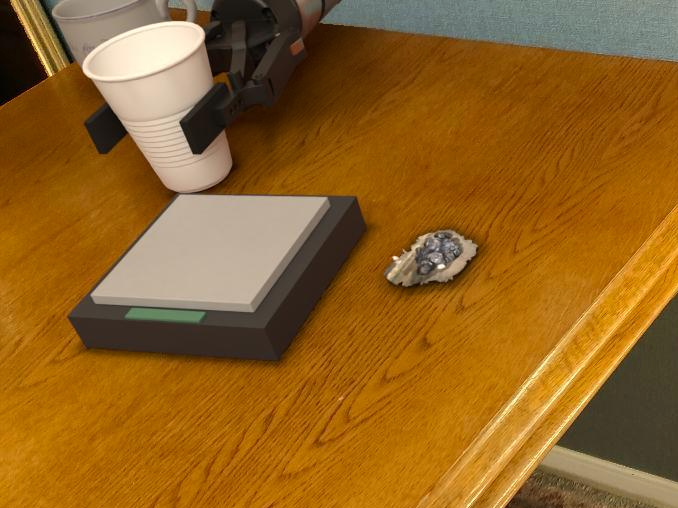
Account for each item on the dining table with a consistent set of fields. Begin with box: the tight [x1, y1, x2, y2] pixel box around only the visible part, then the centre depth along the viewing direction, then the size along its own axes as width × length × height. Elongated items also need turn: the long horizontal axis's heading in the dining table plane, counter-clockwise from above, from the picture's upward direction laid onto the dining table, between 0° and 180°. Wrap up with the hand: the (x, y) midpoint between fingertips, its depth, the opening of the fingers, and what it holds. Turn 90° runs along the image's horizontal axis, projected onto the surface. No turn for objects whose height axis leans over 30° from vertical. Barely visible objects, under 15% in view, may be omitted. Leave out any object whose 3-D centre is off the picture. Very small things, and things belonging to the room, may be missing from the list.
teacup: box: [51, 0, 199, 71], centre depth 101 cm, size 14×11×8 cm
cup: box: [81, 20, 233, 193], centre depth 83 cm, size 10×10×11 cm
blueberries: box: [382, 229, 479, 288], centre depth 72 cm, size 7×8×2 cm
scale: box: [66, 192, 367, 362], centre depth 74 cm, size 16×16×4 cm
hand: (141, 138), depth 80 cm, fingers closed on cup, 8 cm apart
